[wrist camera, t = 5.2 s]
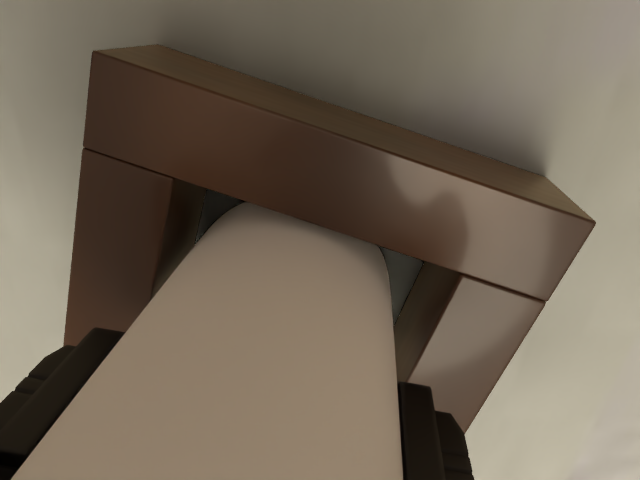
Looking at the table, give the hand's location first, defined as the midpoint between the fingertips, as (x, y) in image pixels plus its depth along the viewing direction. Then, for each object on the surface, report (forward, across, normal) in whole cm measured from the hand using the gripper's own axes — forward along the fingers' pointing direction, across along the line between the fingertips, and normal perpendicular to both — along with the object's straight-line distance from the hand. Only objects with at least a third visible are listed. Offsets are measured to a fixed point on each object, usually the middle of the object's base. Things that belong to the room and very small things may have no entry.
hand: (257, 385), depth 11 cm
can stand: (+5, 0, 0) cm, 5 cm away
